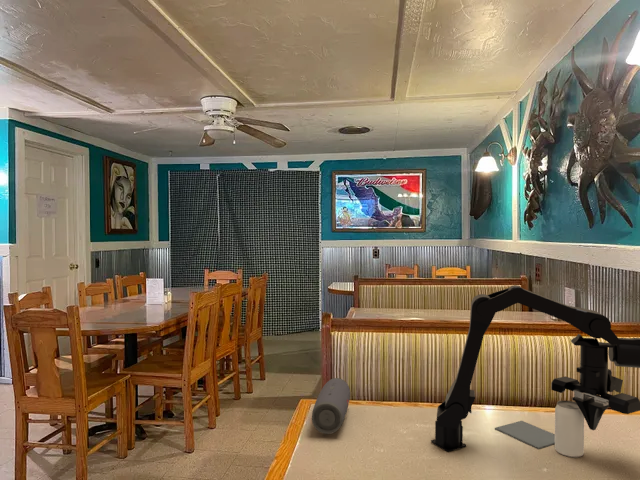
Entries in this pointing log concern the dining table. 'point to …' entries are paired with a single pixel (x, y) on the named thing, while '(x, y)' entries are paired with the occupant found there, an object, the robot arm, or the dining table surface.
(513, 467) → the dining table surface
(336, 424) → the bluetooth speaker
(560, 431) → the can
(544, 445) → the mat
